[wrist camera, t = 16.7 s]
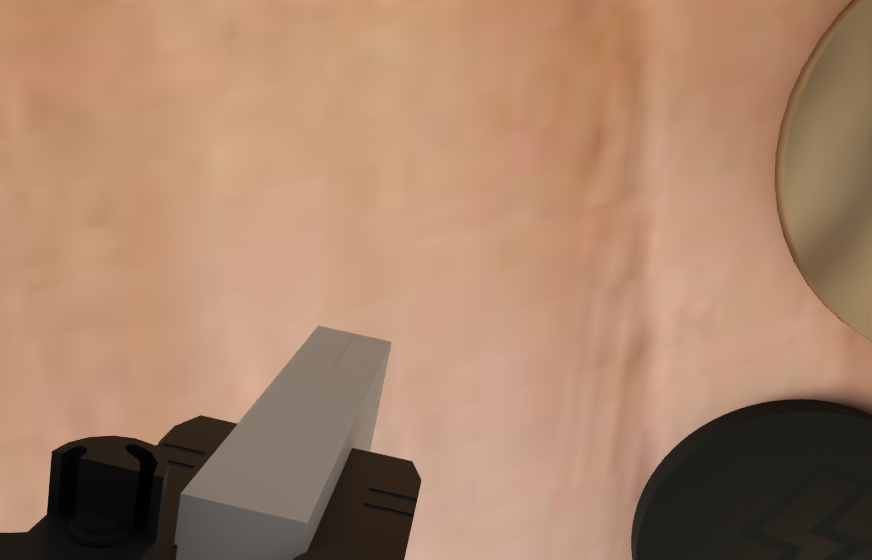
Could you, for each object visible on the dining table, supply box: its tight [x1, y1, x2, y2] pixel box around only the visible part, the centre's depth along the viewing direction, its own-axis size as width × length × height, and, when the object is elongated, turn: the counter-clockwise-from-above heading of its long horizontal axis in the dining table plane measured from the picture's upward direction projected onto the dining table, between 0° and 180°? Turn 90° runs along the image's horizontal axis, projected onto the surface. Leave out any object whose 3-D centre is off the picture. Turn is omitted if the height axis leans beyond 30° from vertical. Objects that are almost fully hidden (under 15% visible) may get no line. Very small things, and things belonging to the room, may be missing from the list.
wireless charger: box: [631, 399, 872, 560], centre depth 43 cm, size 18×18×2 cm
